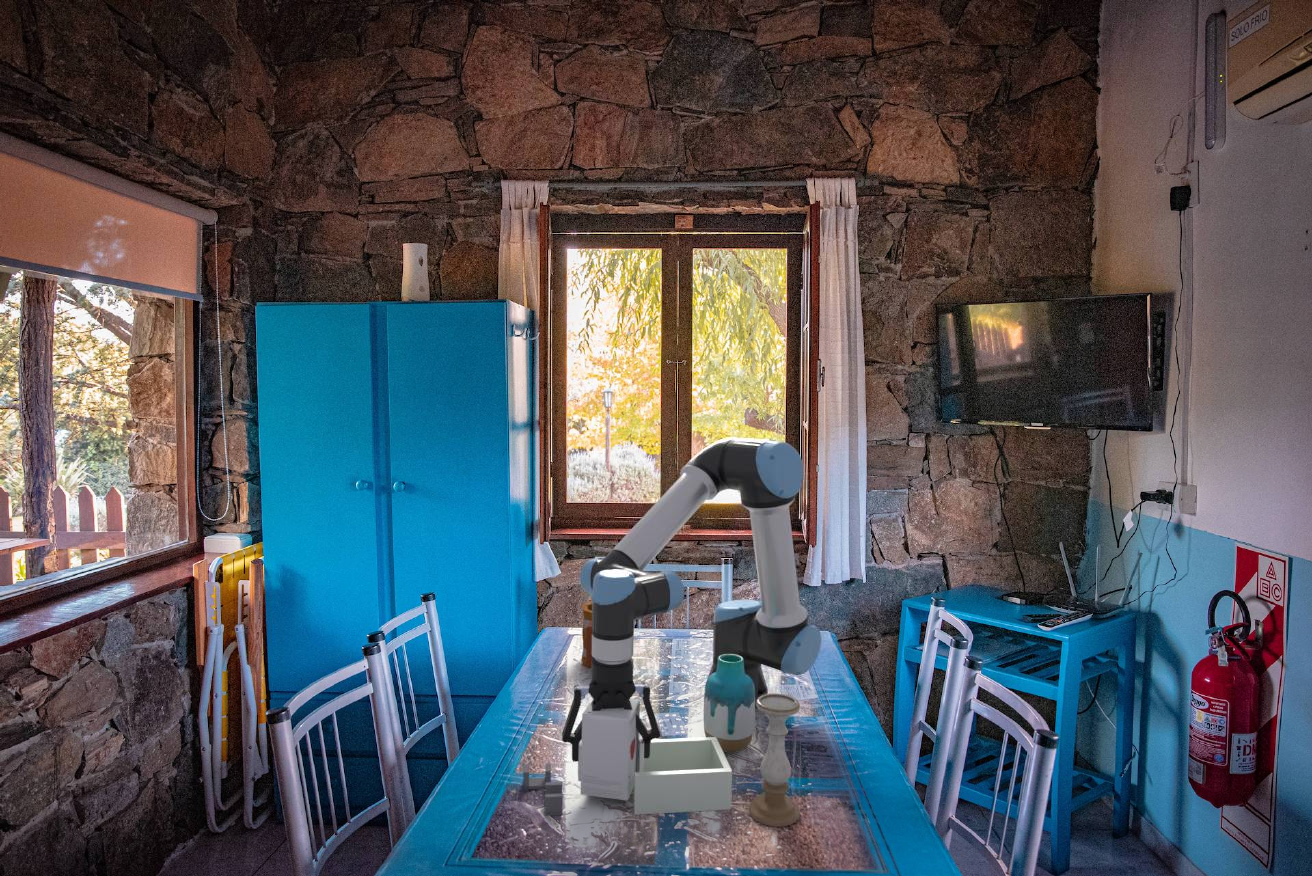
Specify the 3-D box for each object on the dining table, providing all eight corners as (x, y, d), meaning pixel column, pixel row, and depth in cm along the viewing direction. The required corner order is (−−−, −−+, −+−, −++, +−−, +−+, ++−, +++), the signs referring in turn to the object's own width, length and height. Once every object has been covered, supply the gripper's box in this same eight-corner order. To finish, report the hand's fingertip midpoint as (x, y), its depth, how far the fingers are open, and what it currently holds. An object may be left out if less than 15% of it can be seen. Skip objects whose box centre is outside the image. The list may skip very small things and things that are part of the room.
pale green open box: (714, 771, 151) (716, 736, 150) (730, 809, 138) (732, 771, 137) (627, 775, 148) (627, 740, 148) (634, 814, 135) (635, 775, 135)
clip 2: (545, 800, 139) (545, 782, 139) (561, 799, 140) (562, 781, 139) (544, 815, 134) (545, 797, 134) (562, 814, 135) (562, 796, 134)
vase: (758, 741, 164) (761, 653, 163) (747, 764, 154) (750, 670, 153) (710, 733, 167) (712, 646, 166) (696, 755, 157) (698, 663, 156)
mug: (590, 650, 217) (591, 598, 216) (636, 656, 214) (637, 602, 212) (563, 675, 198) (564, 618, 197) (613, 682, 195) (615, 623, 194)
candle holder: (765, 832, 131) (769, 715, 129) (740, 805, 139) (743, 695, 137) (809, 821, 134) (813, 707, 133) (781, 796, 142) (785, 688, 141)
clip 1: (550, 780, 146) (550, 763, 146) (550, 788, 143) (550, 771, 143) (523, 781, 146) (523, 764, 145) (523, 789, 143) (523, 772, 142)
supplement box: (628, 802, 136) (629, 719, 135) (579, 795, 138) (580, 713, 137) (640, 776, 145) (641, 698, 144) (593, 770, 147) (594, 693, 145)
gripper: (672, 648, 145) (669, 762, 146) (548, 651, 142) (547, 768, 143) (678, 662, 137) (675, 783, 139) (548, 666, 134) (547, 789, 136)
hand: (610, 775), depth 141 cm, fingers closed on supplement box, 10 cm apart
